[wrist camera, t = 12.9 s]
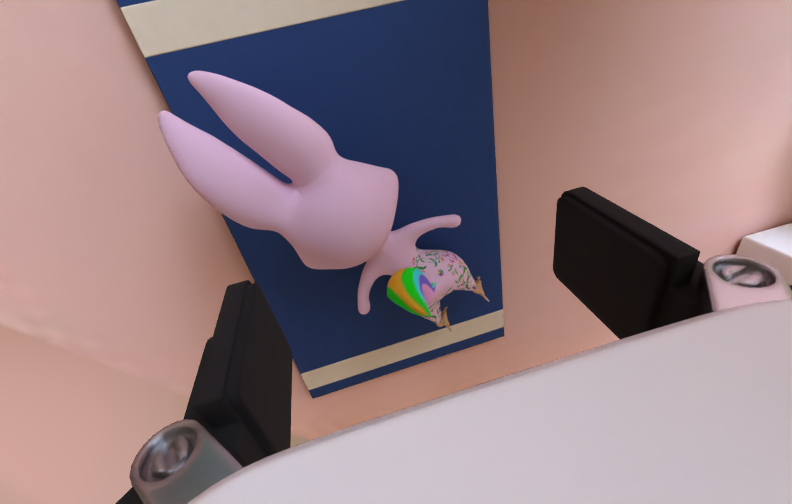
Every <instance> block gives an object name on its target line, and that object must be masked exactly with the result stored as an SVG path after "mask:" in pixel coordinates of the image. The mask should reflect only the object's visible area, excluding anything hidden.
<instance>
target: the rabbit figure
mask: <svg viewBox="0 0 792 504" xmlns="http://www.w3.org/2000/svg"><path fill="white" fill-rule="evenodd" d="M188 80H189V82H190V83H191V84H192V86H193V87H194V88H195V89H196V90H197V91H198V92H199V93H200V94H201V96H202V97H203V98H204V99H205V100H206V101H207V103H208V104H209V105H210V106H211V108H212V109H213V110H214V111H215V113H216V114H217V115H218V116H219V118H220V119H221V120H222V121H223V122H224V123H225V125H226V126H227V127H228V128H229V129H230V130H231V131H232V132H233V133H234V134H235V135H236V136H237V137H238V138H239V139H240V140H242V141H243V142H244V143H245V144H246V145H248V146H249V147H250V148H252V149H253V150H254V151H255V152H257V153H258V154H259V155H260V156H261V157H263V158H264V159H265V160H266V161H267V162H269V163H270V164H271V165H272V166H274V167H275V168H276V169H277V170H279V171H280V172H281V173H283V174H284V175H286V176H287V177H289V178H290V179H291V180H292V183H291V184H287V183H284V182H282V181H281V180H279V179H278V178H276V177H275V176H273V175H272V174H270V173H269V172H268V171H266V170H265V169H263V168H262V167H260V166H259V165H257V164H256V163H254V162H253V161H251V160H250V159H248V158H247V157H245V156H244V155H242V154H240V153H239V152H237V151H236V150H234V149H233V148H231V147H230V146H228V145H226V144H225V143H223V142H222V141H220V140H218V139H217V138H215V137H214V136H212V135H210V134H208V133H206V132H204V131H202V130H200V129H198V128H196V127H194V126H192V125H191V124H189V123H187V122H185V121H183V120H182V119H180V118H178V117H177V116H175V115H173V114H172V113H170V112H168V111H161V112H160V113H159V116H158V121H159V126H160V129H161V132H162V134H163V137H164V139H165V142H166V144H167V146H168V148H169V150H170V152H171V154H172V156H173V158H174V160H175V162H176V164H177V166H178V167H179V169H180V171H181V172H182V174H183V175H184V177H185V178H186V180H187V181H188V182H189V184H190V185H191V186H192V187H193V188H194V190H195V191H196V192H197V193H198V194H199V195H200V196H201V197H203V198H204V199H205V200H206V201H207V202H208V203H210V204H211V205H212V206H213V207H215V208H216V209H217V210H218V211H220V212H221V213H222V214H224V215H225V216H227V217H228V218H230V219H232V220H233V221H235V222H237V223H239V224H241V225H243V226H246V227H249V228H253V229H259V230H271V231H275V232H278V233H279V234H281V235H282V236H283V237H284V238H285V239H286V240H287V241H288V242H289V243H290V244H291V245H292V246H293V247H294V249H295V250H296V252H297V254H298V255H299V257H300V259H301V260H302V262H303V263H304V264H305V265H306V266H307V267H309V268H312V269H346V268H351V267H354V266H357V265H360V264H362V263H364V262H366V261H367V262H366V264H365V267H364V269H363V271H362V274H361V278H360V282H359V287H358V311H359V312H360V313H361V314H367V313H368V312H369V310H370V302H369V292H370V289H371V287H372V285H373V283H374V281H375V280H376V279H377V278H378V277H380V276H382V275H391V276H392V277H391V278H390V280H389V281H388V285H387V296H388V298H389V299H390V300H392V301H393V302H394V303H395V304H397V305H399V306H400V307H402V308H403V309H405V310H407V311H409V312H411V313H413V314H416V315H419V316H421V317H424V318H426V319H428V320H431V321H433V322H434V323H435V324H436V325H437V326H438V327H442V326H443V325H445V326H446V327H447V328H448V329H449V330H450V332H452V329H451V328H450V327H449V324H450V323H449V322H448V318H447V312H446V309H447V307H445V308H444V310H443V311H442V312H441V311H440V300H441V299H442V298H443V297H444V296H445V295H447V294H449V293H450V292H452V291H453V290H468V291H473V292H474V293H476V294H480V295H481V296H483V297H484V298H485V300H487V301H489V300H488V298H487V297H486V296H485V295H484V291H483V289H482V285H481V281H480V280H479V278H480V277H479V276H478V277H477V279H478V280H477V281H475V280H474V279H473V277H472V275H471V273H470V271H469V269H468V267H467V265H466V264H465V262H464V261H463V260H462V259H461V258H460V257H459V256H458V255H456V254H454V253H452V252H450V251H446V250H421V249H418V248H417V247H416V246H415V243H416V240H417V239H418V238H419V237H420V236H421V235H422V234H424V233H426V232H428V231H430V230H433V229H436V228H441V227H447V228H454V227H457V226H459V225H460V223H461V218H460V216H458V215H444V216H437V217H431V218H427V219H424V220H421V221H417V222H414V223H411V224H409V225H406V226H404V227H402V228H400V229H397V230H395V231H391V228H392V225H393V221H394V217H395V212H396V207H397V200H398V189H399V184H398V177H397V175H396V174H395V172H394V171H392V170H390V169H388V168H383V167H378V166H373V165H369V164H365V163H361V162H357V161H351V160H347V159H344V158H342V157H341V156H339V155H338V154H337V152H336V150H335V148H334V145H333V142H332V140H331V138H330V136H329V135H328V133H327V132H326V131H325V130H324V129H323V128H322V127H321V126H320V125H318V124H317V123H316V122H315V121H313V120H312V119H311V118H309V117H308V116H306V115H305V114H303V113H301V112H300V111H298V110H296V109H294V108H292V107H291V106H289V105H287V104H286V103H284V102H283V101H281V100H279V99H278V98H276V97H274V96H272V95H270V94H268V93H266V92H264V91H262V90H259V89H257V88H255V87H252V86H250V85H247V84H245V83H242V82H239V81H236V80H234V79H231V78H227V77H225V76H222V75H219V74H215V73H210V72H206V71H192V72H190V73H189V74H188ZM452 333H453V332H452Z"/></svg>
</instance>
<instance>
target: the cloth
mask: <svg viewBox="0 0 792 504" xmlns="http://www.w3.org/2000/svg"><path fill="white" fill-rule="evenodd" d="M117 3H118V5H119V7H120V9H121V11H122V14H123V16H124V18H125V20H126V22H127V24H128V26H129V28H130V30H131V32H132V34H133V36H134V38H135V40H136V42H137V44H138V46H139V48H140V50H141V52H142V54H143V56H144V57H145V59H146V61H147V63H148V65H149V67H150V69H151V71H152V74H153V76H154V78H155V80H156V82H157V84H158V86H159V88H160V90H161V92H162V94H163V96H164V98H165V100H166V102H167V104H168V106H169V108H170V110H171V112H172V114H173V115H175V116H177V117H178V118H180V119H182V120H183V121H185V122H187V123H189V124H191V125H192V126H194V127H196V128H198V129H200V130H202V131H204V132H206V133H208V134H210V135H212V136H214V137H215V138H217V139H218V140H220V141H222V142H223V143H225V144H226V145H228V146H230V147H231V148H233V149H234V150H236V151H237V152H239V153H240V154H242V155H244V156H245V157H247V158H248V159H250V160H251V161H253V162H254V163H256V164H257V165H259V166H260V167H262V168H263V169H265V170H266V171H268V172H269V173H270V174H272V175H273V176H275V177H276V178H278V179H279V180H281V181H282V182H284V183H287V184H291V183H292V180H291V179H290V178H289V177H287V176H286V175H284V174H283V173H281V172H280V171H279V170H277V169H276V168H275V167H274V166H272V165H271V164H270V163H269V162H267V161H266V160H265V159H264V158H263V157H261V156H260V155H259V154H258V153H257V152H255V151H254V150H253V149H252V148H250V147H249V146H248V145H246V144H245V143H244V142H243V141H242V140H240V139H239V138H238V137H237V136H236V135H235V134H234V133H233V132H232V131H231V130H230V129H229V128H228V127H227V126H226V125H225V123H224V122H223V121H222V120H221V119H220V118H219V116H218V115H217V114H216V113H215V111H214V110H213V109H212V108H211V106H210V105H209V104H208V103H207V101H206V100H205V99H204V98H203V97H202V96H201V94H200V93H199V92H198V91H197V90H196V89H195V88H194V87H193V86H192V84H191V83H190V82H189V80H188V74H189V73H190V72H192V71H206V72H210V73H215V74H219V75H222V76H225V77H227V78H231V79H234V80H236V81H239V82H242V83H245V84H247V85H250V86H252V87H255V88H257V89H259V90H262V91H264V92H266V93H268V94H270V95H272V96H274V97H276V98H278V99H279V100H281V101H283V102H284V103H286V104H287V105H289V106H291V107H292V108H294V109H296V110H298V111H300V112H301V113H303V114H305V115H306V116H308V117H309V118H311V119H312V120H313V121H315V122H316V123H317V124H318V125H320V126H321V127H322V128H323V129H324V130H325V131H326V132H327V133H328V135H329V136H330V138H331V140H332V142H333V145H334V148H335V150H336V152H337V154H338V155H339V156H341V157H342V158H344V159H347V160H351V161H357V162H361V163H365V164H369V165H373V166H378V167H383V168H388V169H390V170H392V171H394V172H395V174H396V175H397V177H398V184H399V189H398V200H397V207H396V212H395V217H394V221H393V225H392V228H391V231H395V230H397V229H400V228H402V227H404V226H406V225H409V224H411V223H414V222H417V221H421V220H424V219H427V218H431V217H437V216H444V215H458V216H460V218H461V223H460V225H459V226H457V227H454V228H447V227H441V228H436V229H433V230H430V231H428V232H426V233H424V234H422V235H421V236H420V237H419V238H418V239H417V240H416V243H415V246H416V247H417V248H418V249H421V250H446V251H450V252H452V253H454V254H456V255H458V256H459V257H460V258H461V259H462V260H463V261H464V262H465V264H466V265H467V267H468V269H469V271H470V273H471V275H472V277H473V279H474V280H475V281H477V280H478V279H477V277H478V276H479V277H480V278H479V280H480V281H481V285H482V289H483V291H484V295H485V296H486V297H487V298H488V300H489V301H487V300H485V298H484V297H483V296H481V295H480V294H476V293H474V292H473V291H468V290H453V291H452V292H450V293H449V294H447V295H445V296H444V297H443V298H442V299H441V300H440V311H441V312H442V311H443V310H444V308H445V307H447V309H446V312H447V318H448V322H449V323H450V324H449V327H450V328H451V329H452V332H453V333H452V332H450V330H449V329H448V328H447V327H446V326H445V325H443V326H442V327H438V326H437V325H436V324H435V323H434V322H433V321H431V320H428V319H426V318H424V317H421V316H419V315H416V314H413V313H411V312H409V311H407V310H405V309H403V308H402V307H400V306H399V305H397V304H395V303H394V302H393V301H392V300H390V299H389V298H388V296H387V285H388V281H389V280H390V278H391V277H392V276H391V275H382V276H380V277H378V278H377V279H376V280H375V281H374V283H373V285H372V287H371V289H370V292H369V302H370V310H369V312H368V313H367V314H361V313H360V312H359V311H358V287H359V282H360V278H361V274H362V271H363V269H364V267H365V264H366V262H367V261H366V262H364V263H362V264H360V265H357V266H354V267H351V268H346V269H312V268H309V267H307V266H306V265H305V264H304V263H303V262H302V260H301V259H300V257H299V255H298V254H297V252H296V250H295V249H294V247H293V246H292V245H291V244H290V243H289V242H288V241H287V240H286V239H285V238H284V237H283V236H282V235H281V234H279V233H278V232H275V231H271V230H259V229H253V228H249V227H246V226H243V225H241V224H239V223H237V222H235V221H233V220H232V219H230V218H228V217H227V216H225V215H224V214H222V216H223V218H224V220H225V222H226V224H227V226H228V228H229V230H230V232H231V234H232V236H233V238H234V240H235V242H236V244H237V246H238V248H239V250H240V252H241V254H242V256H243V258H244V260H245V262H246V264H247V266H248V268H249V270H250V272H251V274H252V276H253V278H254V280H255V282H256V283H258V284H259V286H260V288H261V290H262V292H263V294H264V296H265V298H266V300H267V302H268V304H269V306H270V308H271V309H272V311H273V313H274V315H275V317H276V319H277V321H278V323H279V325H280V327H281V329H282V331H283V333H284V335H285V337H286V339H287V341H288V343H289V345H290V348H291V352H292V358H293V360H294V362H295V364H296V366H297V368H298V370H299V372H300V374H301V376H302V378H303V380H304V382H305V384H306V386H307V388H308V390H309V392H310V394H311V396H312V398H316V397H319V396H322V395H325V394H328V393H332V392H335V391H338V390H341V389H344V388H347V387H350V386H353V385H356V384H359V383H362V382H365V381H368V380H371V379H374V378H377V377H380V376H383V375H386V374H389V373H392V372H396V371H399V370H402V369H405V368H408V367H411V366H414V365H417V364H420V363H423V362H426V361H429V360H432V359H435V358H438V357H441V356H444V355H447V354H450V353H453V352H456V351H459V350H463V349H466V348H469V347H472V346H475V345H478V344H481V343H484V342H487V341H490V340H493V339H496V338H499V337H502V336H504V315H503V300H502V280H501V260H500V239H499V219H498V199H497V179H496V158H495V138H494V118H493V98H492V78H491V57H490V37H489V17H488V0H117Z"/></svg>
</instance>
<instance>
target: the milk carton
mask: <svg viewBox="0 0 792 504" xmlns="http://www.w3.org/2000/svg"><path fill="white" fill-rule="evenodd" d="M736 255H742V256H748V257H752V258H756V259H759V260H762V261H764V262H767V263H769V264H771V265H773V266H774V267H776V268H777V269H779V270H780V271H781V272H782V273H783V275H784V276H785V277H786V280H787V282H788V284H789V285H792V223H789V224H786V225H782V226H779V227H775V228H772V229H768V230H765V231H761V232H758V233H754V234H751V235H747V236H744V237H743V239H742V241H741V243H740V245H739V248H738V250H737V253H736Z"/></svg>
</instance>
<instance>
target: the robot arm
mask: <svg viewBox="0 0 792 504" xmlns="http://www.w3.org/2000/svg"><path fill="white" fill-rule="evenodd" d="M699 254H700V251H698V250H697V249H695V248H693V247H691V246H689V245H688V244H686V243H684V242H682V241H680V240H679V239H677V238H675V237H673V236H672V235H670V234H668V233H666V232H664V231H663V230H661V229H659V228H657V227H655V226H654V225H652V224H650V223H648V222H646V221H645V220H643V219H641V218H639V217H638V216H636V215H634V214H632V213H630V212H629V211H627V210H625V209H623V208H621V207H620V206H618V205H616V204H614V203H613V202H611V201H609V200H607V199H605V198H604V197H602V196H600V195H598V194H596V193H595V192H593V191H591V190H589V189H588V188H586V187H579V188H576V189H572V190H569V191H565V192H564V193H563V194H562V196H561V198H559V199H558V201H557V212H556V227H555V243H554V259H553V271H554V274H555V276H556V277H557V278H558V279H559V280H560V281H561V282H562V283H563V284H564V285H565V286H566V287H567V288H568V289H569V290H570V291H571V292H572V293H573V294H574V295H575V296H576V297H577V298H578V299H579V300H580V301H581V302H582V303H583V304H584V305H585V306H586V307H587V308H588V309H589V310H590V311H591V312H593V313H594V314H595V315H596V316H597V317H598V318H599V319H600V320H601V321H602V322H603V323H604V324H605V325H606V326H607V327H608V328H609V329H610V330H611V331H612V332H613V333H614V334H615V335H616V336H617V337H618V338H619V339H620V340H617V341H614V342H611V343H608V344H605V345H601V346H598V347H595V348H592V349H589V350H586V351H582V352H579V353H576V354H573V355H570V356H567V357H563V358H560V359H557V360H554V361H551V362H548V363H545V364H541V365H538V366H535V367H532V368H529V369H526V370H523V371H520V372H516V373H513V374H510V375H507V376H504V377H501V378H498V379H495V380H492V381H488V382H485V383H482V384H479V385H476V386H473V387H470V388H467V389H464V390H460V391H457V392H454V393H451V394H448V395H445V396H442V397H439V398H436V399H433V400H430V401H427V402H424V403H421V404H418V405H414V406H411V407H408V408H405V409H402V410H399V411H396V412H393V413H390V414H387V415H384V416H381V417H378V418H375V419H372V420H369V421H366V422H362V423H359V424H357V425H354V426H351V427H348V428H345V429H342V430H339V431H336V432H333V433H330V434H327V435H325V436H322V437H319V438H316V439H313V440H310V441H307V442H304V443H301V444H298V445H296V446H293V447H291V448H290V437H291V395H292V352H291V348H290V345H289V343H288V341H287V339H286V337H285V335H284V333H283V331H282V329H281V327H280V325H279V323H278V321H277V319H276V317H275V315H274V313H273V311H272V309H271V308H270V306H269V304H268V302H267V300H266V298H265V296H264V294H263V292H262V290H261V288H260V286H259V284H258V283H254V284H252V283H251V282H250V281H249V280H246V281H243V282H239V283H236V284H232V285H229V286H227V289H226V292H225V296H224V299H223V303H222V306H221V310H220V313H219V317H218V320H217V324H216V328H215V331H214V335H213V337H211V338H210V339H208V341H207V343H206V345H205V349H204V352H203V355H202V359H201V362H200V366H199V369H198V372H197V376H196V379H195V382H194V386H193V389H192V392H191V396H190V399H189V403H188V406H187V409H186V413H185V416H184V419H183V420H181V421H177V422H174V423H172V424H170V425H168V426H166V427H164V428H163V429H161V430H160V431H158V432H157V433H156V434H154V435H153V436H152V437H151V438H150V439H149V440H148V441H147V442H146V443H145V444H144V445H143V447H142V448H141V450H140V451H139V452H138V454H137V455H136V457H135V459H134V461H133V463H132V466H131V471H130V480H131V484H132V486H133V487H132V488H131V489H130V490H129V491H128V492H127V493H126V494H125V495H124V496H123V497H122V498H121V499H120V500H119V501H118V502H117V503H116V504H792V285H789V284H788V282H787V280H786V277H785V276H784V275H783V273H782V272H781V271H780V270H779V269H777V268H776V267H774V266H773V265H771V264H769V263H767V262H764V261H762V260H759V259H756V258H752V257H748V256H742V255H729V254H725V255H718V256H714V257H712V258H709V259H708V260H707V261H706V262H705V263H704V264H703V263H701V262H699V261H698V257H699Z"/></svg>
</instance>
